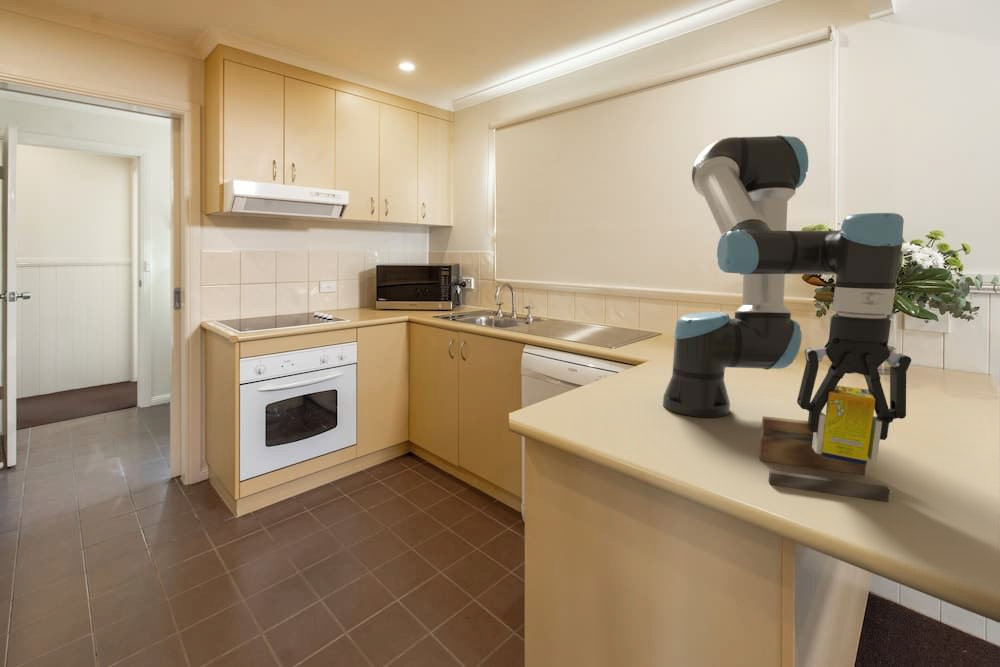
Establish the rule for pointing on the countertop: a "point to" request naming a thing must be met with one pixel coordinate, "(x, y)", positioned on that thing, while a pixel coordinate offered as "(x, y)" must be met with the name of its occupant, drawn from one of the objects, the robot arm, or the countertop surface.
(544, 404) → the countertop surface
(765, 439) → the wooden rack
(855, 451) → the supplement box
